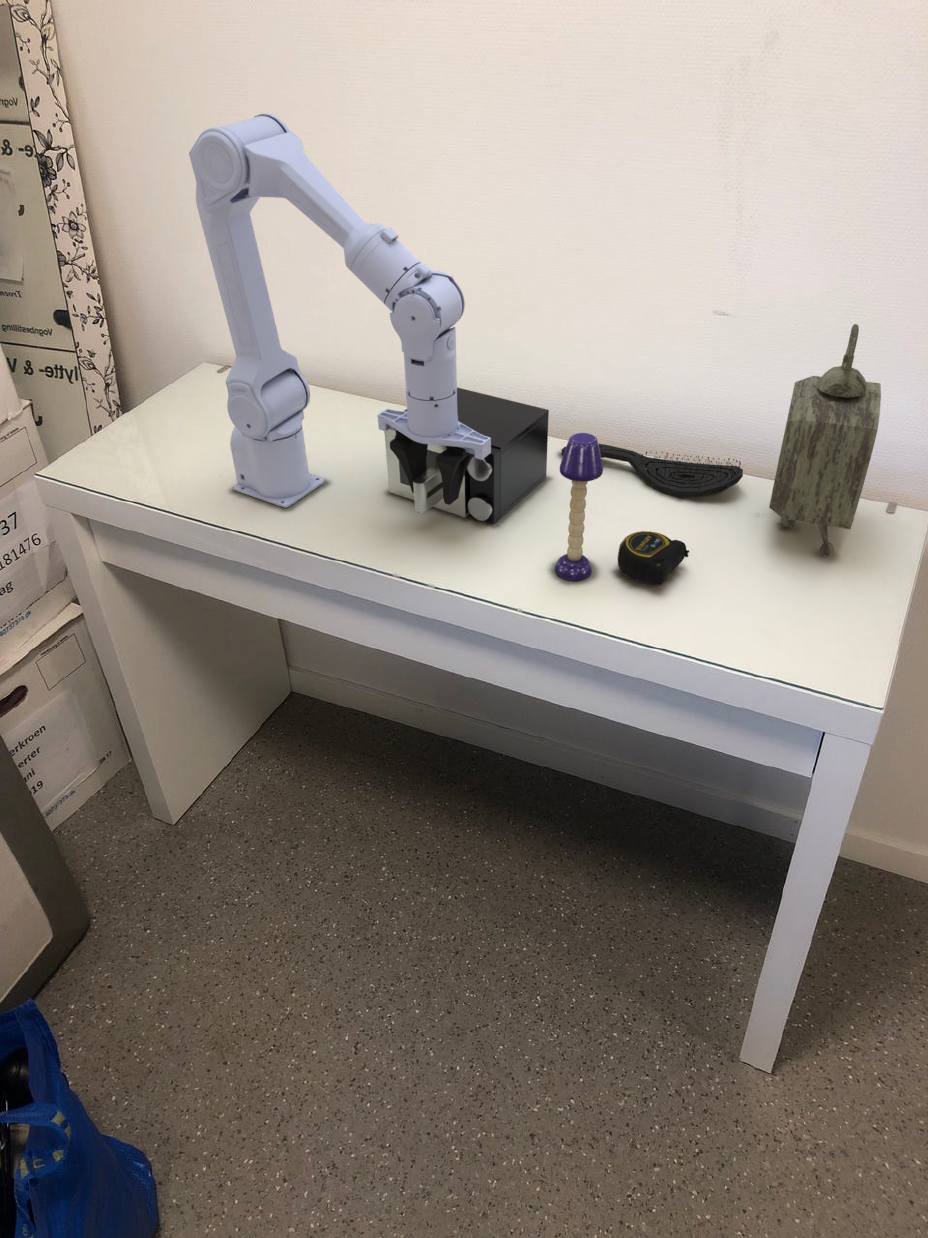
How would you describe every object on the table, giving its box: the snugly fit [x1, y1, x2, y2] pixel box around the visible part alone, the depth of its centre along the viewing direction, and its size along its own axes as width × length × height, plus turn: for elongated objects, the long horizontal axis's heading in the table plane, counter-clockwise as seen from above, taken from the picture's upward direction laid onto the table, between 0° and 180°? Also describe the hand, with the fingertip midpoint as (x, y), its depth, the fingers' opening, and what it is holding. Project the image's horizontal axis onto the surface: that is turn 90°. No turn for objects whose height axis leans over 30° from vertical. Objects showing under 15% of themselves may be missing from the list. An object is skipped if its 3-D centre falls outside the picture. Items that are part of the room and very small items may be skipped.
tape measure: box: [617, 530, 690, 586], centre depth 105 cm, size 7×7×4 cm
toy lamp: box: [554, 432, 604, 581], centre depth 101 cm, size 5×5×17 cm
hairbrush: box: [561, 442, 744, 498], centre depth 123 cm, size 8×4×25 cm
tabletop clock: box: [768, 323, 882, 557], centre depth 104 cm, size 14×9×25 cm, turn 160°
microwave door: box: [384, 429, 471, 518], centre depth 114 cm, size 7×12×10 cm, turn 56°
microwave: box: [403, 386, 550, 525], centre depth 119 cm, size 14×16×10 cm
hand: (435, 495), depth 111 cm, fingers open, 4 cm apart
